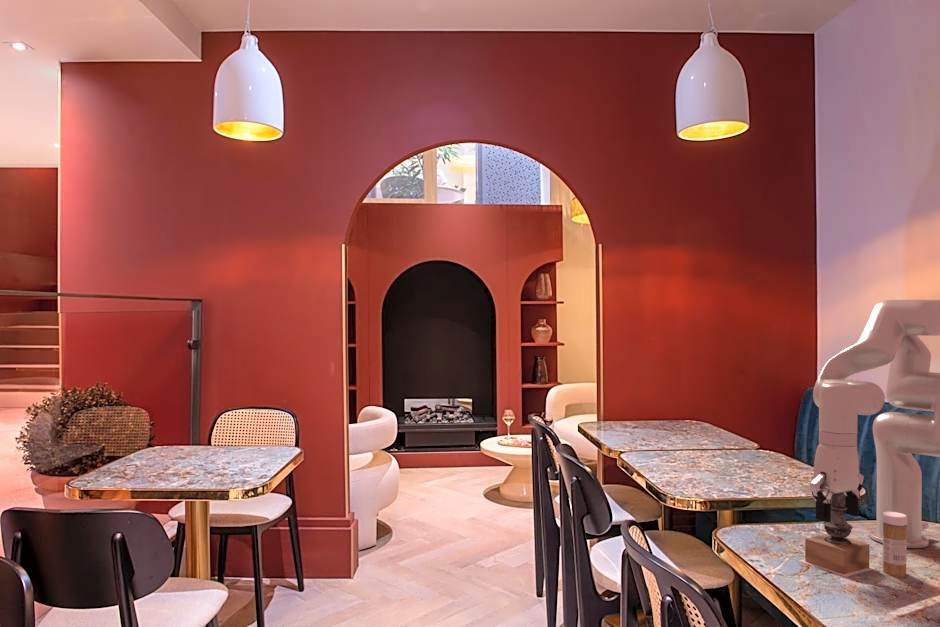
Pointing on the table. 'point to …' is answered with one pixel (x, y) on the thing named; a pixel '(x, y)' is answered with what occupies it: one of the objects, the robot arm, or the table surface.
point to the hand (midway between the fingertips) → (837, 517)
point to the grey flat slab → (837, 572)
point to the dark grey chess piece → (838, 522)
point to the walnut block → (837, 554)
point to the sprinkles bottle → (894, 543)
